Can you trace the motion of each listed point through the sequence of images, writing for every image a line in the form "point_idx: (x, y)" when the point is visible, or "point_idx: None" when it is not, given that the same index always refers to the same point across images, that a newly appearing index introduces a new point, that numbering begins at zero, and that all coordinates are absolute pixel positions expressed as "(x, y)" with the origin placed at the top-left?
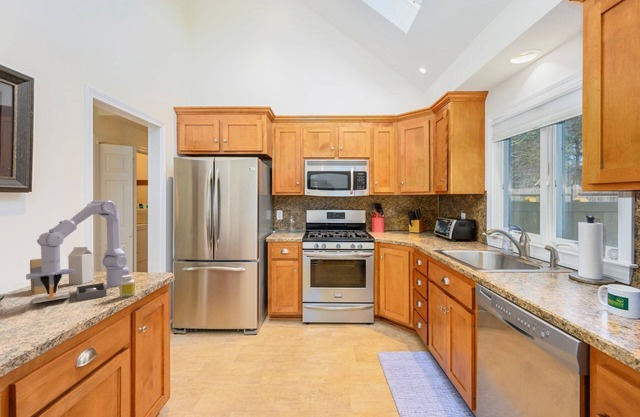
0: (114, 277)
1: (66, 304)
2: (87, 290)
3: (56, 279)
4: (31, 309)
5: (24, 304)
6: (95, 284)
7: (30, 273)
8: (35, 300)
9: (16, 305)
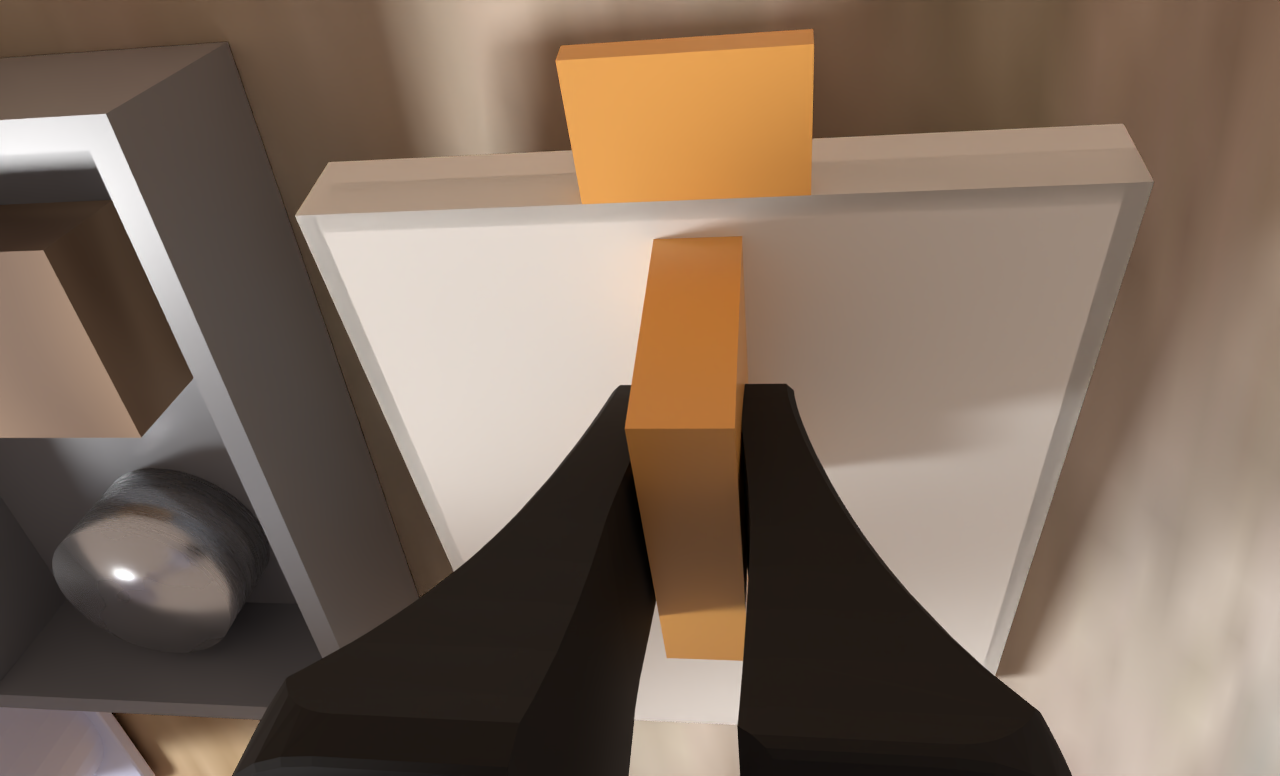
0: None
1: (422, 20)
2: (181, 535)
3: (443, 670)
4: (1083, 105)
5: (1139, 552)
6: (97, 694)
7: None
8: (1061, 165)
9: (1251, 573)
